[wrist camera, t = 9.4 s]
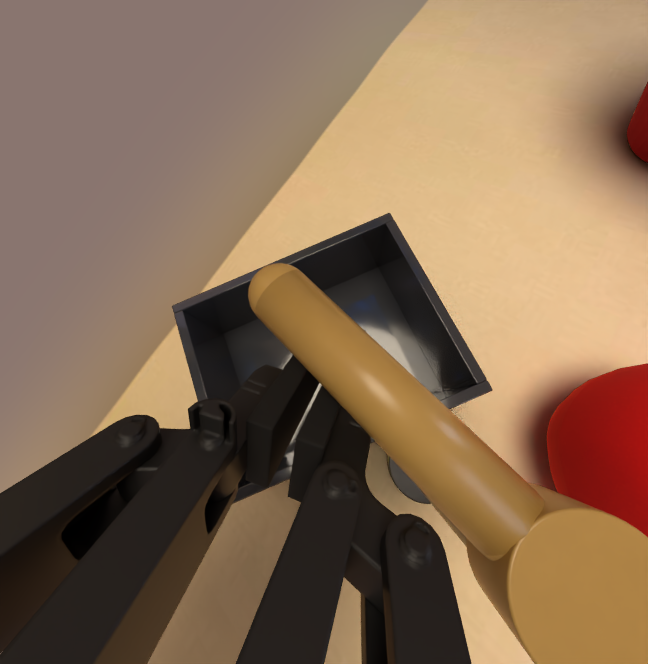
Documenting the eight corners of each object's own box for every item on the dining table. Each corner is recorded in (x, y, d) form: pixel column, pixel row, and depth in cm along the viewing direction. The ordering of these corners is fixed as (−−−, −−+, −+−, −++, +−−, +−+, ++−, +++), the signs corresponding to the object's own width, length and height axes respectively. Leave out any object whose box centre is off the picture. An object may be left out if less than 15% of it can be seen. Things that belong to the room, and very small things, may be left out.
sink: (219, 332, 25) (171, 305, 18) (380, 263, 25) (390, 212, 18) (265, 476, 21) (226, 506, 15) (451, 395, 22) (493, 390, 15)
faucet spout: (599, 541, 8) (740, 617, 5) (526, 634, 8) (632, 773, 5) (308, 271, 12) (292, 222, 9) (246, 329, 11) (205, 299, 8)
